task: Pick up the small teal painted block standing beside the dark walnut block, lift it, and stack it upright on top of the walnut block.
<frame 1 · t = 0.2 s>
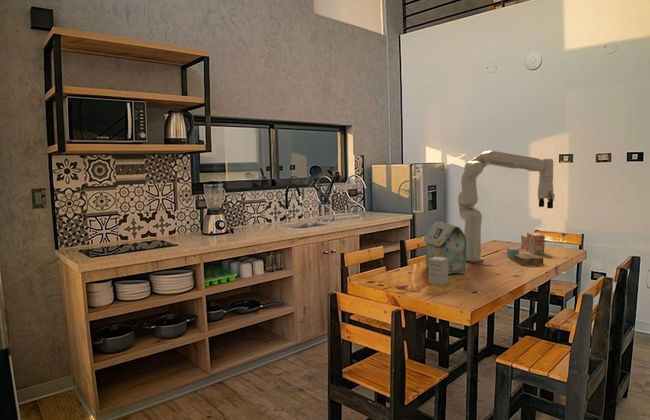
hand: (545, 207, 278), 31 cm above the table, tool pointing down, fingers open, 9 cm apart
teal block: (513, 258, 281), on the table
lunch bag: (445, 271, 254), on the table
supplement box: (438, 283, 228), on the table
stack of blocks: (532, 251, 301), on the table
walnut block: (528, 262, 267), on the table
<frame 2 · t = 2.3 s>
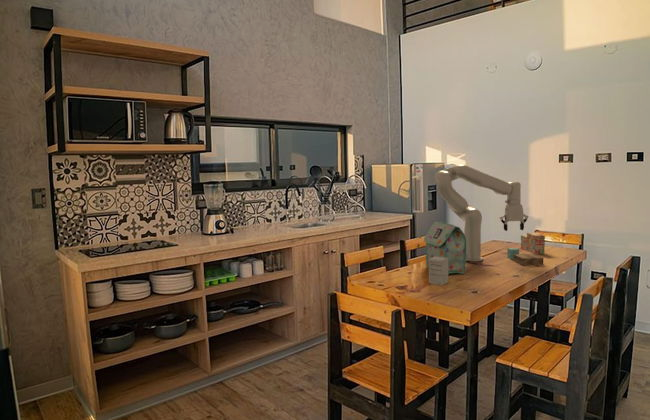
hand: (513, 230, 279), 17 cm above the table, tool pointing down, fingers open, 9 cm apart
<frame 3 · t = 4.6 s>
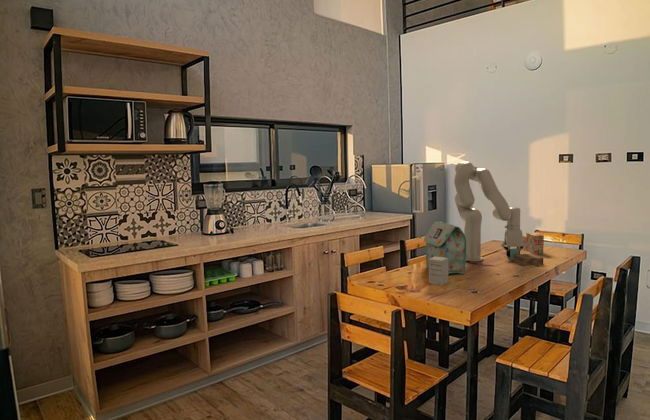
hand: (513, 256, 281), 1 cm above the table, tool pointing down, fingers closed on teal block, 5 cm apart
teal block: (513, 258, 281), on the table, touching gripper
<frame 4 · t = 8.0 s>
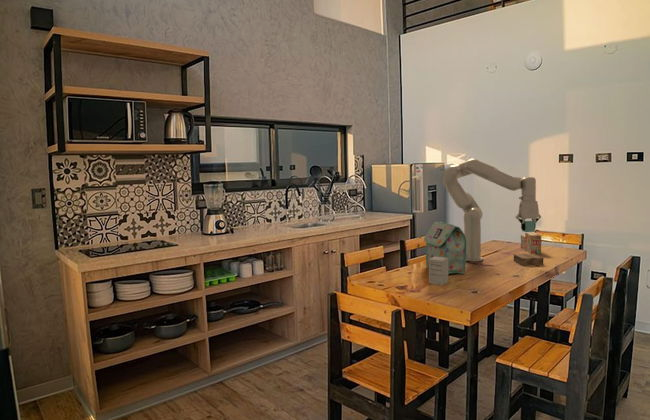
hand: (528, 229, 266), 20 cm above the table, tool pointing down, fingers closed on teal block, 5 cm apart
teal block: (528, 231, 266), point 19 cm above the table, touching gripper
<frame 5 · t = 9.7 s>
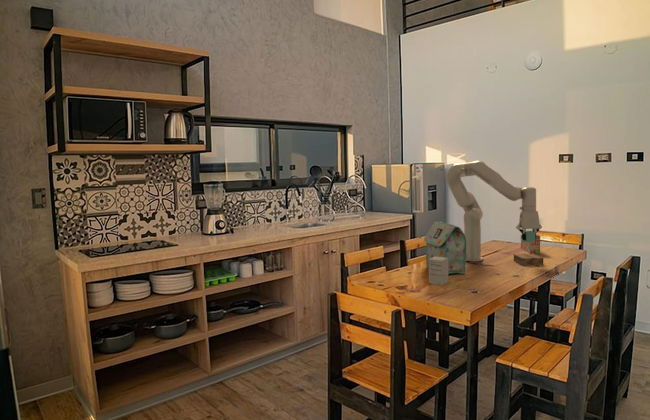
hand: (528, 239, 266), 14 cm above the table, tool pointing down, fingers closed on teal block, 5 cm apart
teal block: (528, 241, 266), point 13 cm above the table, touching gripper
when the fingers open (6 cm above the table, at t = 11.4 s): teal block drops 1 cm, resting on walnut block.
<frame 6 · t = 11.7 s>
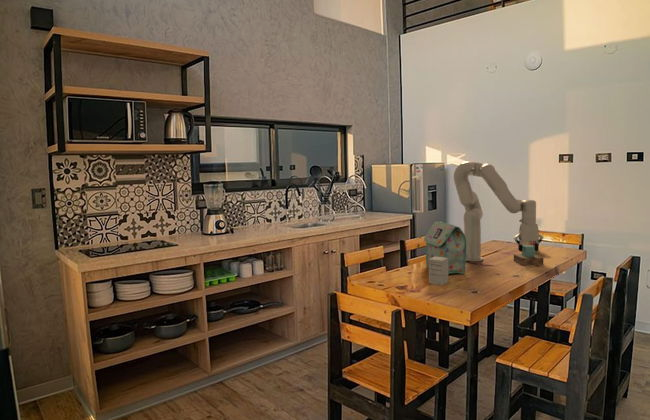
hand: (528, 250, 266), 7 cm above the table, tool pointing down, fingers open, 8 cm apart
teal block: (528, 256, 267), point 4 cm above the table, touching walnut block
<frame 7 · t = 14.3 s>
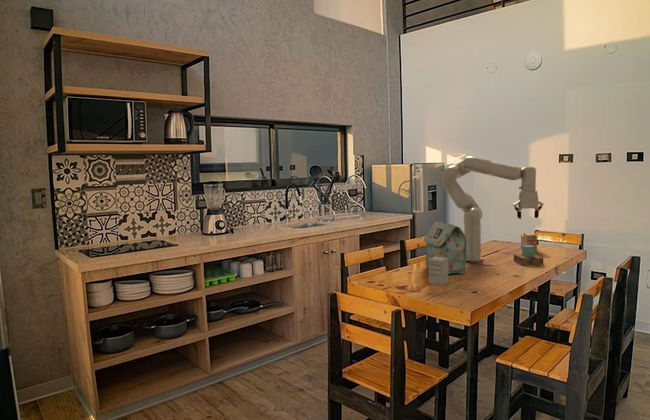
hand: (527, 218, 265), 26 cm above the table, tool pointing down, fingers open, 9 cm apart
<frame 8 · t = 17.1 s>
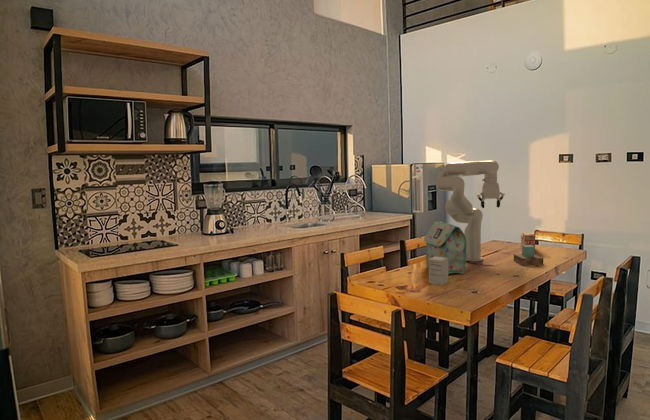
hand: (490, 207, 292), 30 cm above the table, tool pointing down, fingers open, 9 cm apart
at the end: teal block inside the target area on the walnut block (0.1 cm from its centre), point 4.0 cm above the walnut block's base; teal block tilted 0°; the gripper is holding nothing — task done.
